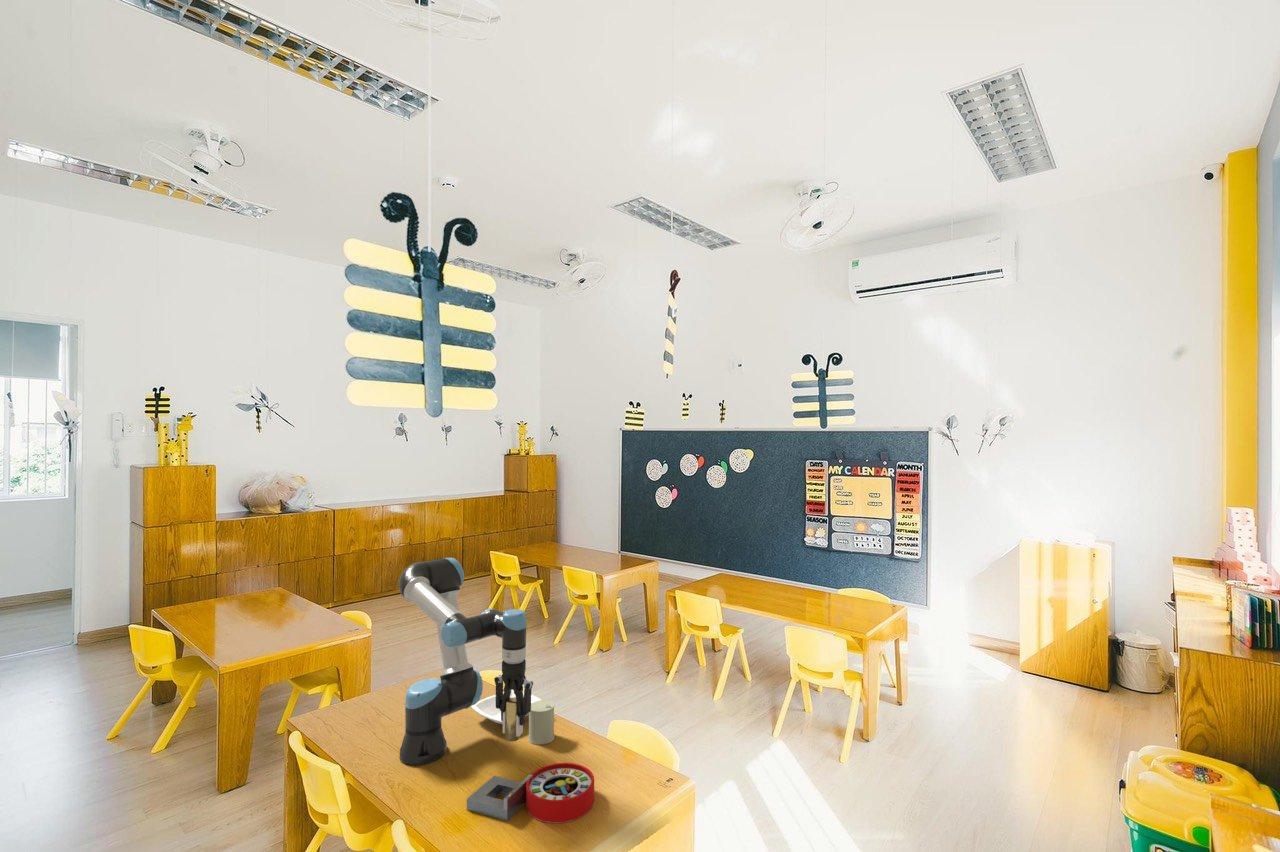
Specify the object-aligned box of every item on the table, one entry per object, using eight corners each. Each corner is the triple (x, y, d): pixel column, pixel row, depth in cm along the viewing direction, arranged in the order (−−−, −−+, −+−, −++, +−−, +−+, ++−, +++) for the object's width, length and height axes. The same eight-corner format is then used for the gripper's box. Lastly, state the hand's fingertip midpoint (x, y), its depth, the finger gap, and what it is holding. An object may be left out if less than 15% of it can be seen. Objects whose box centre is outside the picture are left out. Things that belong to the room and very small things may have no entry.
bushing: (502, 739, 186) (503, 702, 187) (510, 733, 190) (511, 696, 191) (514, 742, 185) (515, 704, 185) (522, 736, 189) (523, 698, 189)
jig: (466, 809, 169) (466, 788, 169) (494, 785, 181) (494, 765, 181) (507, 821, 163) (507, 799, 163) (532, 795, 175) (532, 775, 176)
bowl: (465, 721, 223) (465, 705, 223) (514, 700, 241) (514, 686, 241) (499, 740, 208) (500, 724, 209) (550, 717, 226) (550, 702, 226)
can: (549, 746, 204) (549, 711, 205) (524, 743, 206) (524, 709, 206) (558, 733, 213) (558, 700, 214) (534, 730, 215) (534, 697, 215)
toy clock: (582, 756, 186) (603, 790, 167) (582, 775, 186) (603, 811, 167) (519, 771, 178) (534, 808, 159) (519, 790, 178) (534, 830, 159)
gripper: (484, 659, 188) (483, 732, 187) (530, 668, 181) (529, 744, 181) (498, 651, 195) (497, 722, 194) (543, 660, 188) (542, 732, 188)
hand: (512, 732), depth 188 cm, fingers closed on bushing, 4 cm apart
